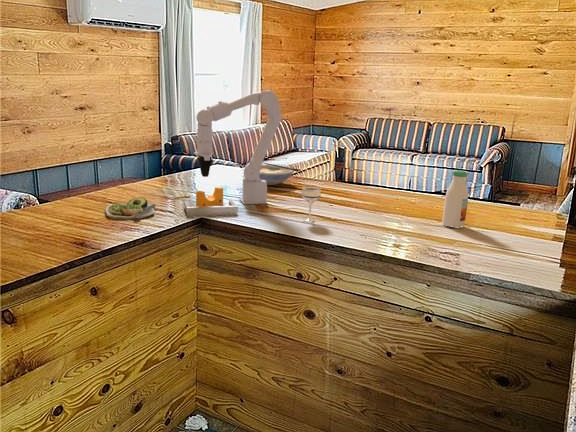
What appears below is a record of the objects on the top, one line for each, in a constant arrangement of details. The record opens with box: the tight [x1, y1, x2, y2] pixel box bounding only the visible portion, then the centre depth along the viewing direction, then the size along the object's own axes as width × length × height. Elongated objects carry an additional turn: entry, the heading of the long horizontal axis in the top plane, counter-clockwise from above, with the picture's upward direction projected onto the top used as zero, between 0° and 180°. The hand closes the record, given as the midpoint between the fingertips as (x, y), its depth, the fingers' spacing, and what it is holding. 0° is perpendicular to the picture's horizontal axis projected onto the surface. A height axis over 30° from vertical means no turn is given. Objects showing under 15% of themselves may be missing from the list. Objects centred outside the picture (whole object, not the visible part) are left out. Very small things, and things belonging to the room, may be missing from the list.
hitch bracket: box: [183, 199, 239, 217], centre depth 193 cm, size 18×12×3 cm, turn 106°
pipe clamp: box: [195, 186, 224, 207], centre depth 201 cm, size 12×4×6 cm, turn 144°
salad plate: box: [105, 196, 157, 221], centre depth 185 cm, size 19×18×5 cm
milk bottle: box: [442, 169, 469, 227], centre depth 186 cm, size 8×8×20 cm
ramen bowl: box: [259, 162, 302, 186], centre depth 243 cm, size 25×23×8 cm
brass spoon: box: [173, 194, 191, 200], centre depth 212 cm, size 6×2×1 cm, turn 126°
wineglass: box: [301, 185, 322, 221], centre depth 186 cm, size 7×7×12 cm
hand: (204, 175), depth 207 cm, fingers open, 2 cm apart
